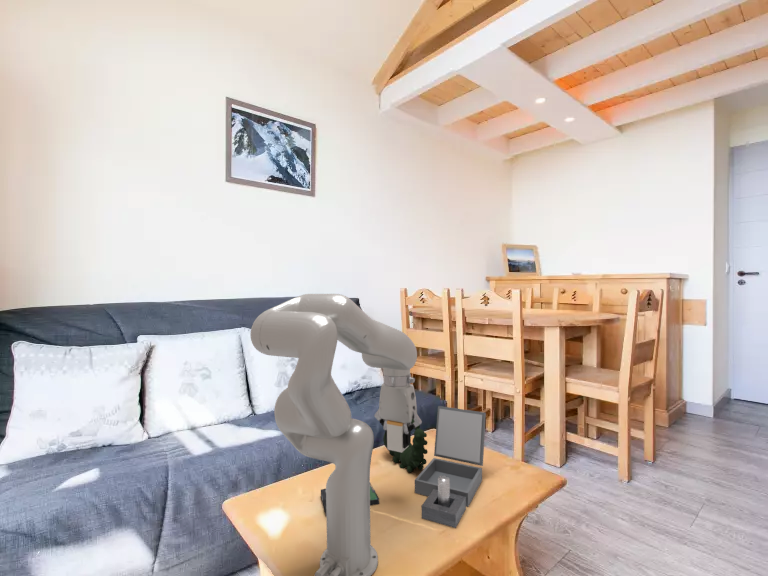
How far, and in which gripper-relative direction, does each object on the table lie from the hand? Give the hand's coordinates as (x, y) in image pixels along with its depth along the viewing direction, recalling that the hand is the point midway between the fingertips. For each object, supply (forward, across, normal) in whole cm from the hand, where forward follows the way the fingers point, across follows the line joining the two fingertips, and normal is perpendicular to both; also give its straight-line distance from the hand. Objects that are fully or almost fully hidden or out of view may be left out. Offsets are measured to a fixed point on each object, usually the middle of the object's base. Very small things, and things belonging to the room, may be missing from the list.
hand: (397, 443), depth 109 cm
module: (+1, 0, 0) cm, 1 cm away
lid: (+3, -11, -22) cm, 24 cm away
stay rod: (+16, -14, +2) cm, 21 cm away
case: (+16, -11, -12) cm, 23 cm away
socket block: (+16, -14, +2) cm, 21 cm away
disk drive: (+17, +12, +7) cm, 22 cm away
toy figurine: (+16, +8, -21) cm, 28 cm away
